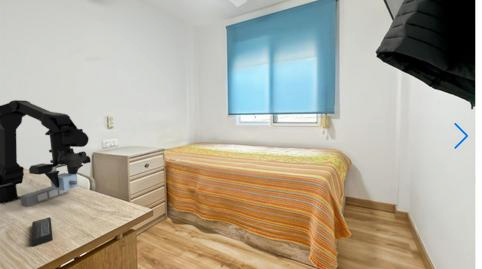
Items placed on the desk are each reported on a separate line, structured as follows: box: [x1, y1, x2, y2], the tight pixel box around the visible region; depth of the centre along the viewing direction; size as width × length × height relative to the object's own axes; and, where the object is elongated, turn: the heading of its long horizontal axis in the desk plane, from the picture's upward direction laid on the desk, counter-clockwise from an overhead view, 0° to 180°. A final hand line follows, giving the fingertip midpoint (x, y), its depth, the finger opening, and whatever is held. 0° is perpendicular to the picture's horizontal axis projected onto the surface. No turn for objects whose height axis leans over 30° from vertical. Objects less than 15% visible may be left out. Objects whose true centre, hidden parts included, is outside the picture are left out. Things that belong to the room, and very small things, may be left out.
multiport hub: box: [30, 216, 54, 248], centre depth 65 cm, size 4×14×2 cm, turn 43°
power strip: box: [20, 186, 69, 207], centre depth 92 cm, size 4×15×5 cm, turn 163°
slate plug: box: [50, 172, 79, 191], centre depth 84 cm, size 12×5×5 cm, turn 73°
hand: (65, 185), depth 84 cm, fingers closed on slate plug, 5 cm apart
